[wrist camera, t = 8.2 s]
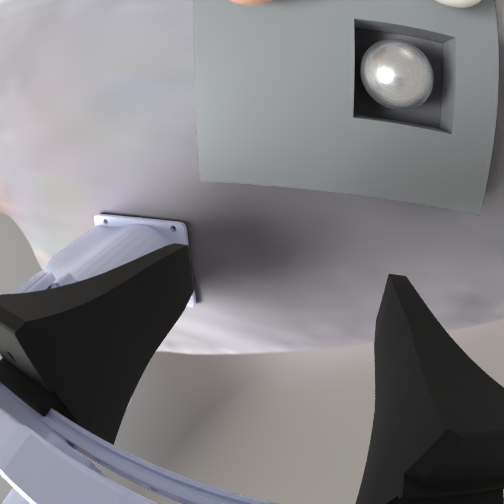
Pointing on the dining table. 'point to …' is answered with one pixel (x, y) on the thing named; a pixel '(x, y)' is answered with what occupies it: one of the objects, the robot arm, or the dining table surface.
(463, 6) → the cream ball
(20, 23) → the dining table surface
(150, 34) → the dining table surface
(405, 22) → the hole plate
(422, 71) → the steel ball
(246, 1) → the terracotta ball
